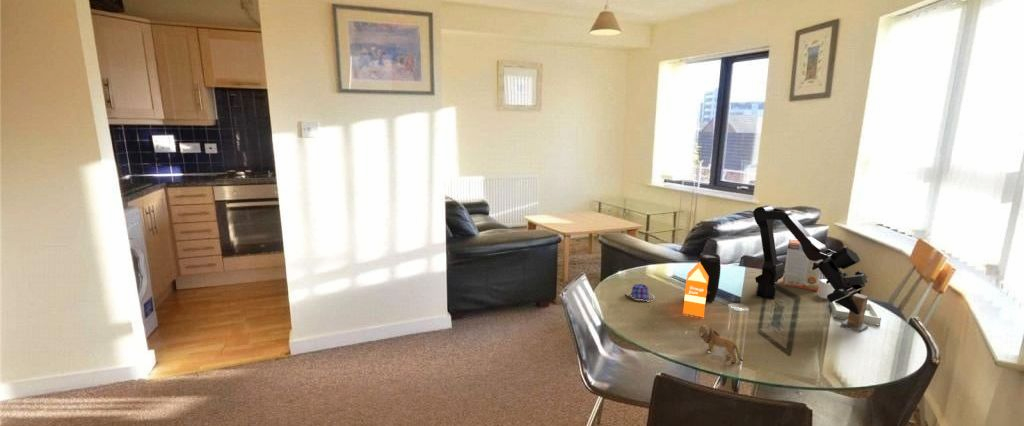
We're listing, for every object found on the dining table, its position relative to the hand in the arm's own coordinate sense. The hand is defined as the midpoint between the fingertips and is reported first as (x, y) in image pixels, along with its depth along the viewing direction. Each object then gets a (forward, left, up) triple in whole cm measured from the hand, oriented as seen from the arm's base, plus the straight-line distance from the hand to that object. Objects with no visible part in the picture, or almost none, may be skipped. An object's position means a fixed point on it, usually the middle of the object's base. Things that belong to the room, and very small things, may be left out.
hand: (861, 312), depth 168 cm
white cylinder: (-6, +30, -7) cm, 31 cm away
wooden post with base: (-1, +1, -7) cm, 7 cm away
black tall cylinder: (-53, +2, -7) cm, 54 cm away
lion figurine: (-46, -45, -7) cm, 65 cm away
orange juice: (-56, -14, -7) cm, 58 cm away
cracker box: (-15, +38, -7) cm, 41 cm away
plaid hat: (-78, -9, -7) cm, 79 cm away
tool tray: (+1, +14, -7) cm, 15 cm away
